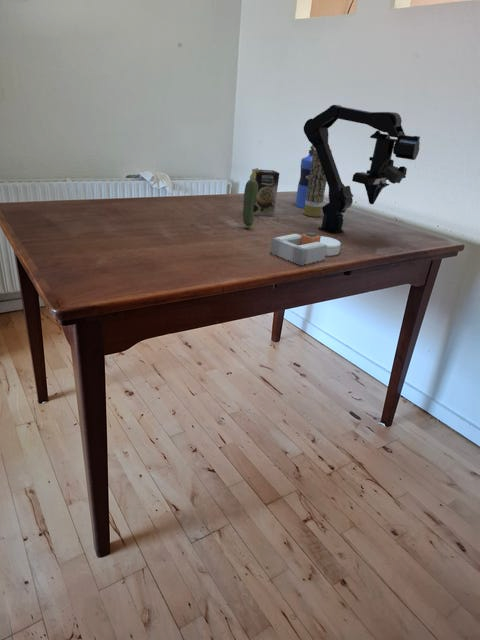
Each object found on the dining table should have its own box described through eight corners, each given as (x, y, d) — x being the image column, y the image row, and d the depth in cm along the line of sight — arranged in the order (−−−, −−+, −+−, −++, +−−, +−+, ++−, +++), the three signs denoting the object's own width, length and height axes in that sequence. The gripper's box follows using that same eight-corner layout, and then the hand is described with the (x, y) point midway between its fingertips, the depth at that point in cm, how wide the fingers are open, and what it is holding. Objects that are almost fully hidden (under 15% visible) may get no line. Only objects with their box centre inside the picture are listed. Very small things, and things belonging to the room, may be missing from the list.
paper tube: (321, 218, 178) (333, 151, 167) (304, 216, 178) (315, 149, 167) (319, 214, 184) (330, 149, 173) (302, 212, 184) (312, 147, 173)
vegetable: (238, 227, 155) (244, 167, 146) (244, 225, 158) (250, 165, 149) (250, 230, 153) (256, 169, 144) (256, 228, 157) (262, 167, 148)
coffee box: (252, 215, 172) (256, 171, 165) (247, 211, 177) (251, 168, 170) (274, 216, 174) (280, 172, 167) (269, 211, 180) (274, 169, 173)
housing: (270, 253, 133) (272, 237, 131) (294, 248, 140) (296, 232, 138) (300, 265, 126) (303, 249, 124) (324, 259, 132) (327, 244, 130)
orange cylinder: (298, 252, 136) (302, 232, 133) (307, 250, 138) (310, 230, 136) (309, 256, 133) (312, 236, 131) (317, 254, 136) (321, 234, 133)
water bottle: (291, 203, 198) (300, 142, 186) (310, 203, 201) (320, 143, 189) (300, 208, 190) (309, 145, 179) (320, 209, 193) (330, 146, 181)
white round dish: (339, 249, 144) (341, 238, 143) (338, 258, 135) (340, 247, 134) (308, 244, 146) (310, 233, 144) (305, 253, 137) (306, 242, 135)
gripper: (386, 159, 134) (374, 212, 141) (420, 159, 145) (407, 207, 152) (356, 153, 141) (346, 203, 148) (391, 153, 152) (380, 200, 159)
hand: (371, 204), depth 152 cm, fingers closed
